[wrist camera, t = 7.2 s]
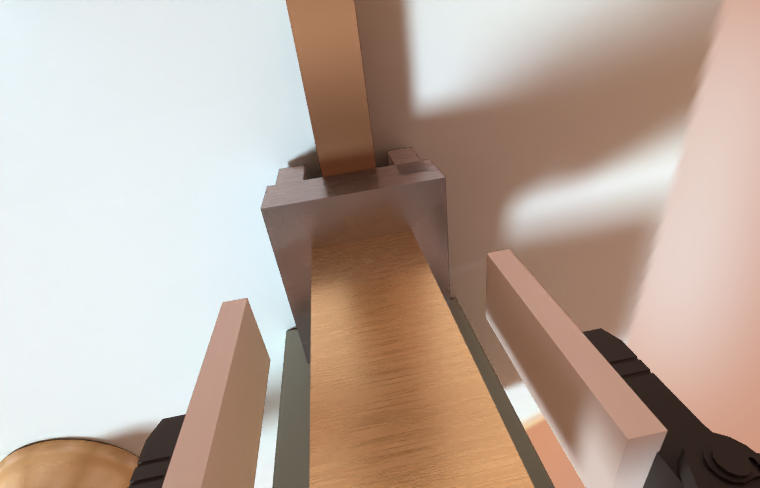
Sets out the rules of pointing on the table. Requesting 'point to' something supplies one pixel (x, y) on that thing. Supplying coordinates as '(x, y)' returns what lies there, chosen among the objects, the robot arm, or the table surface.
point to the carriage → (384, 332)
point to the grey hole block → (296, 412)
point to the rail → (333, 83)
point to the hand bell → (68, 466)
